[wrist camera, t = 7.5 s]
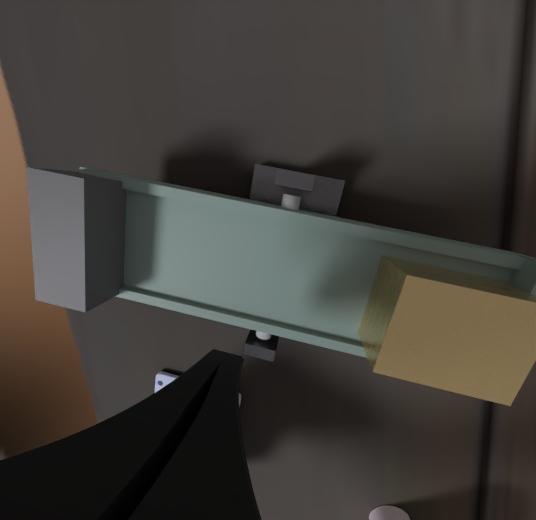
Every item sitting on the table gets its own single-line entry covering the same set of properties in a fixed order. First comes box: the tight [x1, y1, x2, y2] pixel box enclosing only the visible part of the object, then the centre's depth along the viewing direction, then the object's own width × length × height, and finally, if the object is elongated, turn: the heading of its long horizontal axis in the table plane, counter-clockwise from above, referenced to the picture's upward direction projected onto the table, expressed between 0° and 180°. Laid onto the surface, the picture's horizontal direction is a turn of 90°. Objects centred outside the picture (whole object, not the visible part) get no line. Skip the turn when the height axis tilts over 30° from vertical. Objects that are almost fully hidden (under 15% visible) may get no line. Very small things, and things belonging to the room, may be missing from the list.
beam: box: [26, 167, 536, 358], centre depth 14 cm, size 9×25×4 cm, turn 79°
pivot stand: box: [243, 164, 345, 362], centre depth 17 cm, size 12×6×5 cm, turn 169°
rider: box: [358, 255, 536, 406], centre depth 13 cm, size 5×6×4 cm
